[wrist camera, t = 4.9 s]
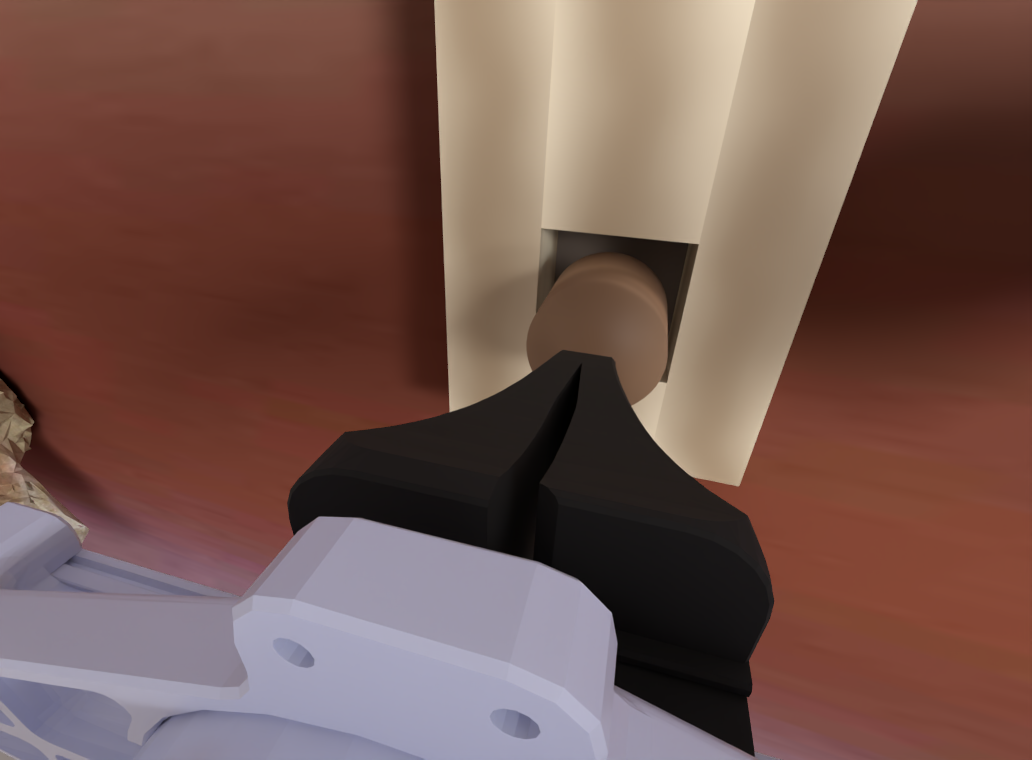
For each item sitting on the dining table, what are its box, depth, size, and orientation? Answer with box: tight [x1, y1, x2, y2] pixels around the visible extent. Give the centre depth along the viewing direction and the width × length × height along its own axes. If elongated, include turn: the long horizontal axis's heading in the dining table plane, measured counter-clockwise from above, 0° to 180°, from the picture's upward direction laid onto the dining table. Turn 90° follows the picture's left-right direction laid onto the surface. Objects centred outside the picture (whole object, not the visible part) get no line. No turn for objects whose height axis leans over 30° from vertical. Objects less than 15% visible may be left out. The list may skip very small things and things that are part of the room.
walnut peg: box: [526, 252, 668, 406], centre depth 15 cm, size 4×4×3 cm
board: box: [434, 0, 917, 486], centre depth 15 cm, size 12×24×4 cm, turn 178°
